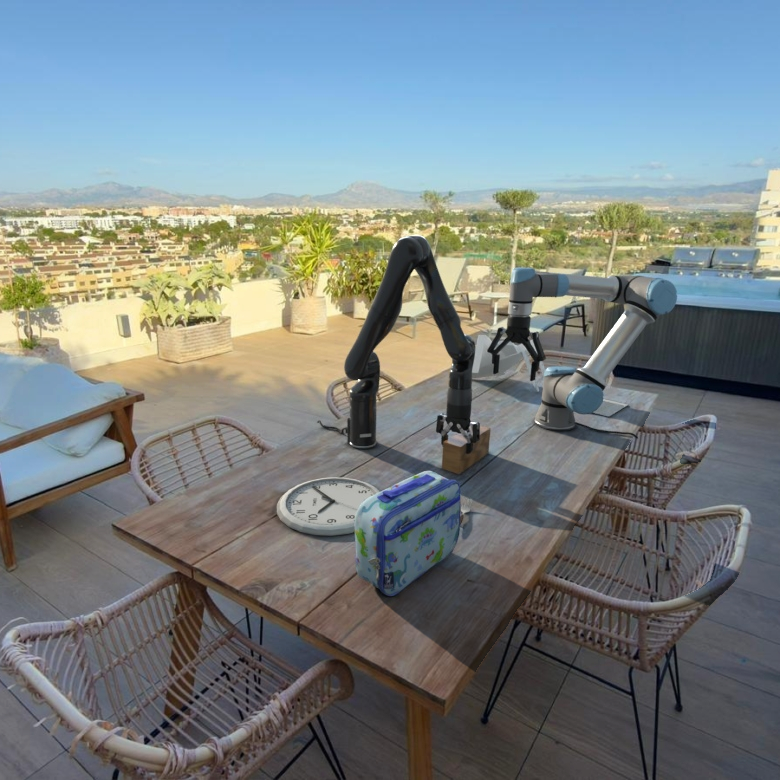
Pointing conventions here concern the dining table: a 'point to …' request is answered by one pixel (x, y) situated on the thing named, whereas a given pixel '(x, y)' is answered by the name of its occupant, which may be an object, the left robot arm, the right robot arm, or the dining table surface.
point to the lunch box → (406, 530)
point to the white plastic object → (507, 358)
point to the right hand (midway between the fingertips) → (513, 376)
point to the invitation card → (609, 407)
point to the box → (464, 451)
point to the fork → (465, 509)
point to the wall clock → (324, 505)
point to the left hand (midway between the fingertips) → (456, 449)
